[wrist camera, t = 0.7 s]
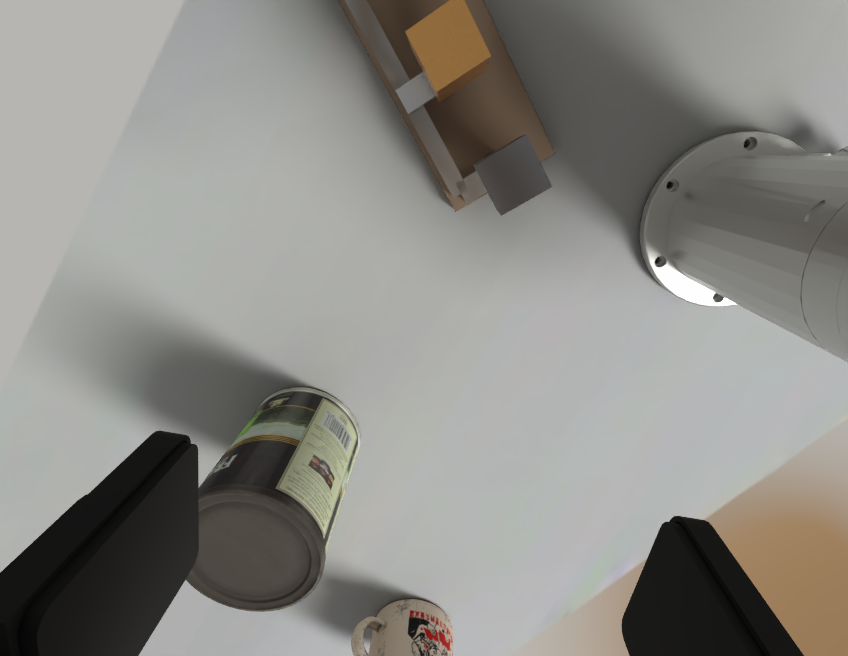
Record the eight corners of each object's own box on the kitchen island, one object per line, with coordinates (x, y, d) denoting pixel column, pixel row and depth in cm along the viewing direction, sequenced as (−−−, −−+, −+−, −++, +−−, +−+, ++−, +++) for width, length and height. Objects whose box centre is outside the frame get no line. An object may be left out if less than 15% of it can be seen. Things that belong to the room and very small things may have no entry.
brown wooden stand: (409, -145, 29) (388, -301, 19) (554, 159, 35) (595, 161, 25) (305, -62, 31) (235, -165, 21) (458, 215, 37) (461, 238, 27)
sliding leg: (457, 39, 31) (460, -8, 22) (479, 83, 32) (491, 55, 23) (392, 84, 32) (369, 56, 23) (415, 125, 33) (402, 114, 24)
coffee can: (235, 451, 45) (147, 574, 32) (277, 366, 42) (198, 464, 29) (332, 498, 47) (285, 634, 33) (380, 419, 43) (350, 536, 30)
